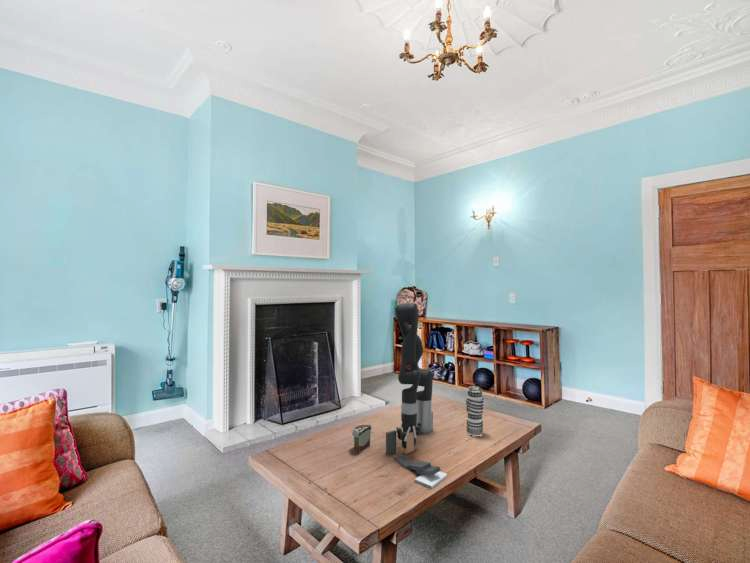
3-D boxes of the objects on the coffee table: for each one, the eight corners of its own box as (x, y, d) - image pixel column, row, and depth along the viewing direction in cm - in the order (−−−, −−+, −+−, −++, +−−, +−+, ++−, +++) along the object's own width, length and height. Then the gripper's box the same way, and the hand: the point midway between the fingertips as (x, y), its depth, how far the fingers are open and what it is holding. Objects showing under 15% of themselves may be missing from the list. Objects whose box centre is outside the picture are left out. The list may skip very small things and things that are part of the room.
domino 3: (411, 449, 179) (412, 429, 179) (414, 450, 178) (414, 430, 178) (403, 452, 176) (403, 431, 176) (405, 453, 175) (406, 432, 175)
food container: (361, 442, 187) (361, 422, 187) (371, 445, 184) (371, 425, 184) (347, 451, 176) (347, 430, 177) (357, 454, 173) (357, 433, 173)
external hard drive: (414, 483, 150) (430, 471, 160) (431, 490, 145) (447, 477, 154) (414, 479, 150) (430, 467, 160) (431, 486, 145) (447, 473, 154)
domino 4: (416, 460, 163) (430, 462, 155) (417, 464, 163) (431, 466, 155) (407, 465, 161) (421, 467, 153) (408, 468, 160) (422, 471, 152)
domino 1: (394, 451, 177) (394, 430, 178) (396, 452, 176) (396, 431, 176) (385, 453, 175) (386, 432, 175) (387, 455, 173) (388, 433, 173)
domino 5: (423, 465, 160) (439, 466, 152) (424, 469, 159) (440, 470, 152) (415, 469, 157) (430, 471, 149) (416, 473, 156) (432, 475, 149)
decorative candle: (485, 437, 194) (485, 389, 194) (468, 437, 194) (468, 389, 194) (481, 430, 203) (481, 384, 203) (464, 430, 203) (464, 384, 203)
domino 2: (403, 454, 171) (415, 463, 163) (403, 458, 171) (415, 467, 163) (394, 457, 169) (406, 466, 160) (394, 460, 169) (406, 470, 160)
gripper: (415, 406, 184) (415, 440, 184) (392, 411, 176) (392, 447, 176) (425, 410, 178) (425, 445, 178) (402, 416, 170) (402, 453, 170)
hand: (408, 446), depth 177 cm, fingers closed on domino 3, 5 cm apart
